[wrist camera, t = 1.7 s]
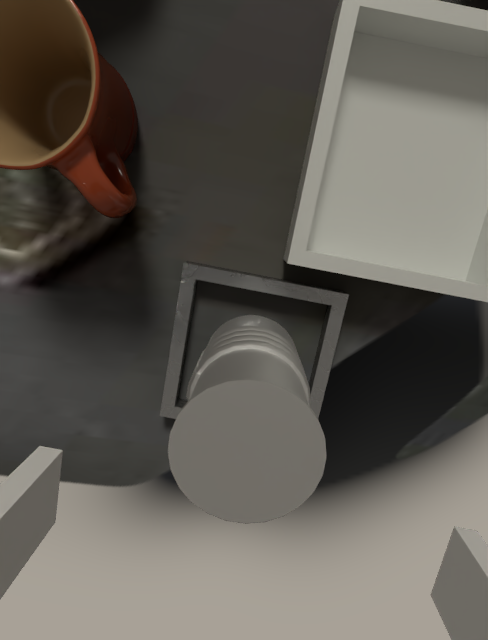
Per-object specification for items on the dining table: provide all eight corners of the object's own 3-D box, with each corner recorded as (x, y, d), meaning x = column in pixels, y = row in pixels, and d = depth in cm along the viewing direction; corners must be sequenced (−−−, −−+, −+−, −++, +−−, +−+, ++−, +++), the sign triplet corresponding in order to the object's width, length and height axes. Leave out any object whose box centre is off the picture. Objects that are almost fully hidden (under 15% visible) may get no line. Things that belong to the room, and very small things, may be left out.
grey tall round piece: (219, 297, 31) (186, 357, 17) (307, 322, 32) (350, 403, 17) (196, 379, 33) (148, 501, 18) (280, 403, 33) (299, 541, 18)
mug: (4, 105, 29) (-130, 39, 19) (102, 26, 28) (15, -89, 18) (108, 250, 31) (36, 260, 21) (204, 182, 30) (177, 159, 20)
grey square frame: (164, 407, 33) (159, 415, 32) (187, 261, 31) (183, 262, 29) (309, 435, 34) (311, 444, 32) (344, 291, 31) (348, 294, 29)
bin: (283, 259, 31) (287, 263, 27) (333, 17, 27) (346, -19, 23) (467, 294, 31) (498, 304, 27) (541, 59, 27) (589, 30, 23)
